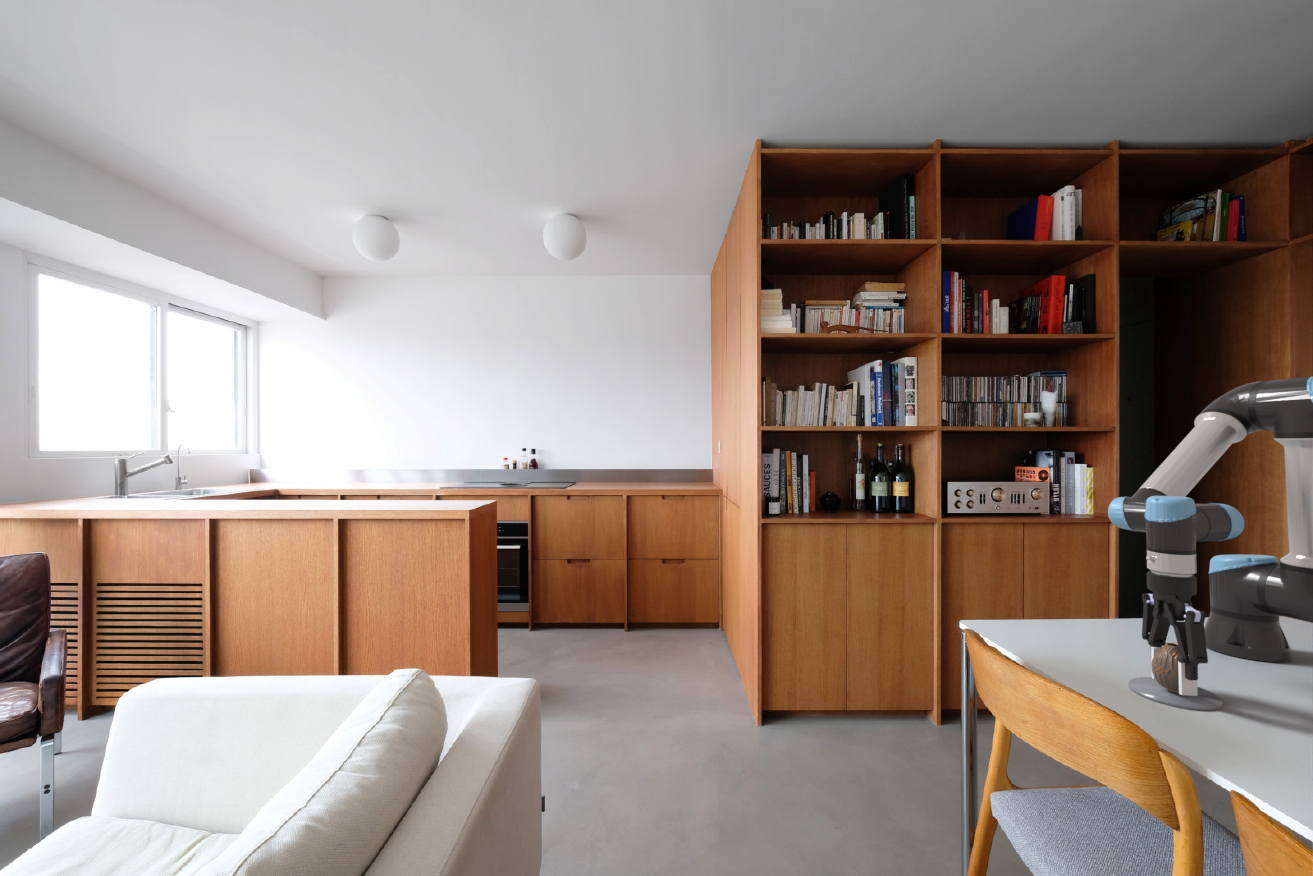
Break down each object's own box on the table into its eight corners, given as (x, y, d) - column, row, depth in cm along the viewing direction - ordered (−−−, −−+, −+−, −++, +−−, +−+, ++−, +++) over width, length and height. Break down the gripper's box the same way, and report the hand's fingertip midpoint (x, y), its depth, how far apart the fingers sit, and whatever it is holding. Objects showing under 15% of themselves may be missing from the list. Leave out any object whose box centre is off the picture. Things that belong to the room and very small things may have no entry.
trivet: (1185, 681, 121) (1185, 678, 121) (1243, 712, 107) (1243, 709, 107) (1113, 678, 123) (1113, 675, 123) (1160, 708, 110) (1159, 705, 110)
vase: (1207, 696, 111) (1205, 651, 111) (1166, 694, 113) (1165, 649, 113) (1182, 682, 118) (1181, 639, 118) (1144, 680, 120) (1142, 638, 120)
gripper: (1118, 562, 126) (1121, 666, 126) (1188, 584, 106) (1190, 708, 106) (1156, 562, 125) (1159, 668, 125) (1233, 585, 105) (1236, 710, 105)
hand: (1173, 686), depth 115 cm, fingers closed on vase, 7 cm apart
